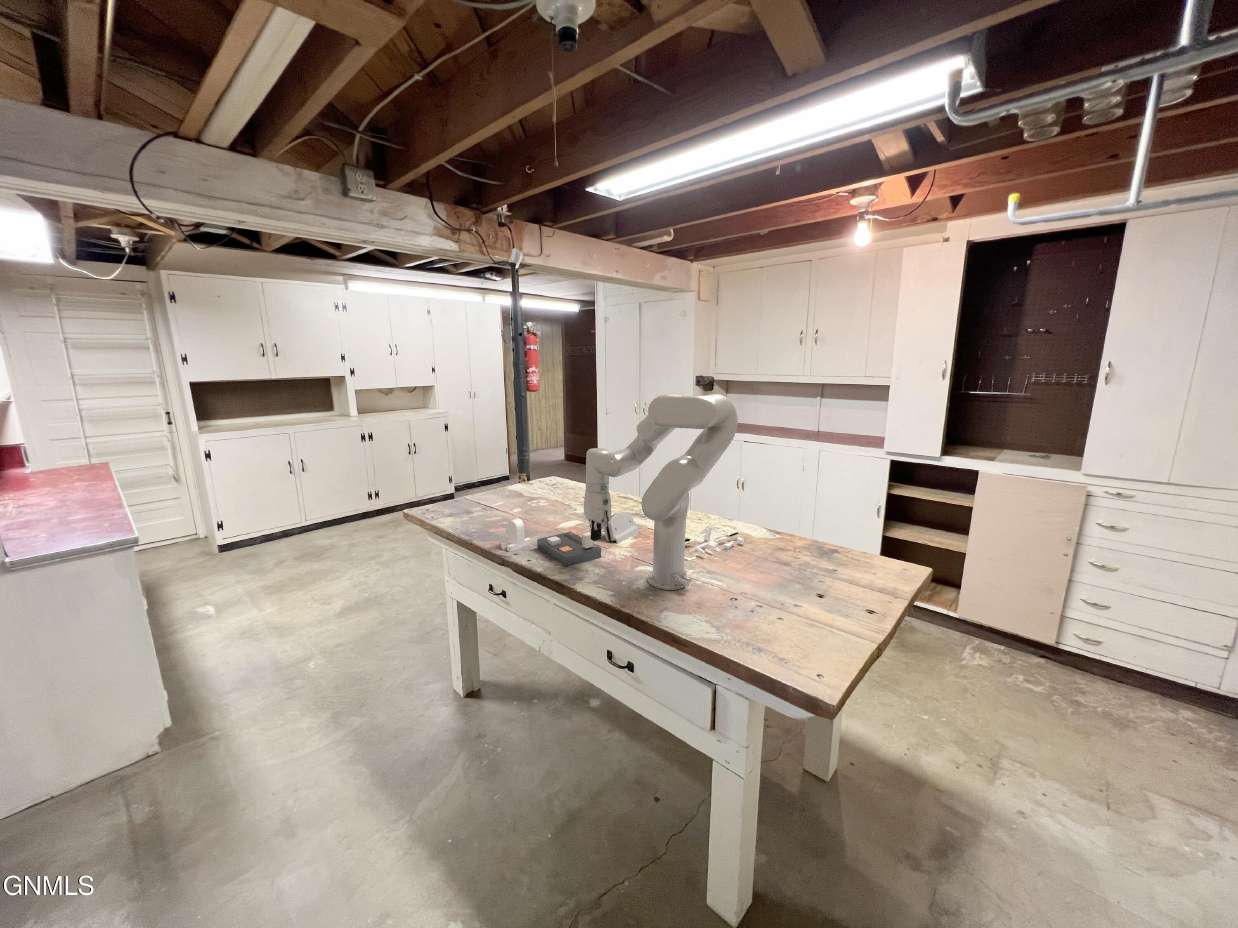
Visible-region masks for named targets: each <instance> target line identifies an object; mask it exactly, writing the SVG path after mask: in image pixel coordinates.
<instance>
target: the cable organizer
mask: <svg viewBox="0 0 1238 928" xmlns="http://www.w3.org/2000/svg"><path fill="white" fill-rule="evenodd" d="M506 530H507V531H506V532H507V540H505V541H503V542H501V543H500V549H502V550H506V551H507V552H513V551H516V550H518V549H521V548H523V547H526V546H529V545H531V538H530V537H526V536H525V524H524V521H523V520H522V519H521V518H515V519H512V520H509V521H508V522H507V525H506Z"/></svg>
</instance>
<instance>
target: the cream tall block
mask: <svg viewBox="0 0 1238 928" xmlns="http://www.w3.org/2000/svg"><path fill="white" fill-rule="evenodd" d="M581 537H582V547H584V548H589V547H593V546H594V544H595V543H594V542H595V541H593V540H591V531H589V532H585V533H582V534H581Z"/></svg>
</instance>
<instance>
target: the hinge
mask: <svg viewBox="0 0 1238 928" xmlns="http://www.w3.org/2000/svg"><path fill="white" fill-rule="evenodd" d="M603 530H604V534H605V535H604V536H605V541H606V542H607V543H608V542H610V541H611V542H612V541H613V542H614V541H615V542H616V544H617V545H619V544H620V543H622V542H623V541H625V540H627V539H629V538H630V537H632V536H634V535H636V534H638V533H639V532H640V529H639V526H637V525H636V523H635V521H634V517H633V515H632V513H631V512H630V511H620V512H616V513H613V514H611V521H607V527H603Z"/></svg>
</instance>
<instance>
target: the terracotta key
mask: <svg viewBox="0 0 1238 928" xmlns="http://www.w3.org/2000/svg"><path fill="white" fill-rule="evenodd" d="M559 551H561V552H563V553H565V552H569V551H573V549H572V548H570V547H568V546H566V547H562V548H559Z"/></svg>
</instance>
